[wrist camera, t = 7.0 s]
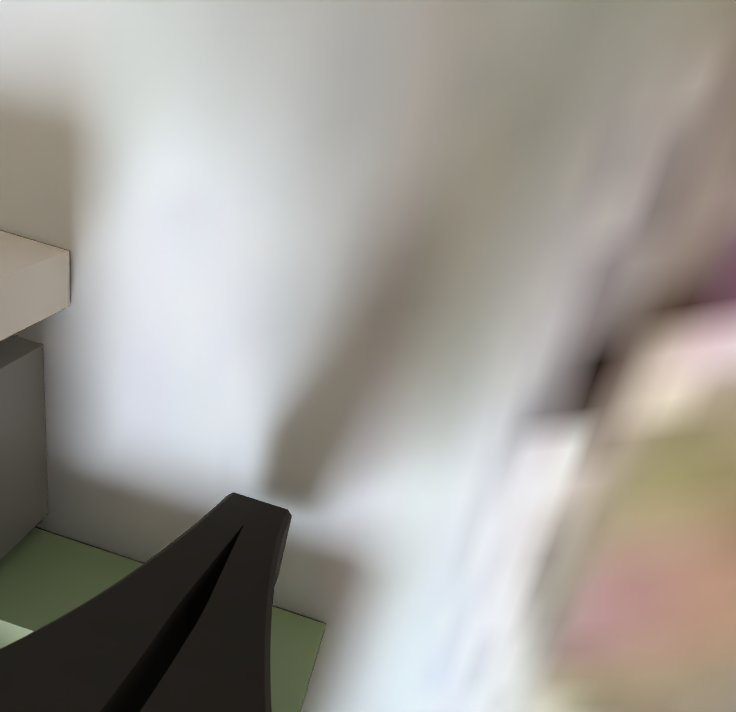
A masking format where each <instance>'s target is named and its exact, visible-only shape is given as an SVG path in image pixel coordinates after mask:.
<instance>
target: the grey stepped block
mask: <svg viewBox="0 0 736 712" xmlns="http://www.w3.org/2000/svg"><path fill="white" fill-rule="evenodd" d="M47 515H48V494H47V460H46V426H45V392H44V358H43V345H42V344H39V343H36V342H32V341H29V340H26V339H23V338H20V337H16V336H13V335H11V336H9V337H7V338H5V339H3V340H1V341H0V560H1V559H2V558H3V557H4V556H5V555H6V554H7V553H8V552H9V551H10V550H11V549H12V548H13V547H14V546H15V545H17V544H18V543H19V542H20V541H21V540H22V539H23V538H24V537H25V536H26V535H27V534H28V533H29V532H30V531H31V530H32V529H33V528H34V527H35V526H36V525H37V524H38V523H39V522H40V521H41V520H42V519H43V518H45V517H46V516H47Z"/></svg>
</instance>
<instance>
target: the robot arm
mask: <svg viewBox="0 0 736 712" xmlns="http://www.w3.org/2000/svg"><path fill="white" fill-rule="evenodd" d="M291 517H292V515H291V514H290V512H289V511H288V510H287V509H284V508H281V507H278V506H274V505H271V504H268V503H265V502H262V501H259V500H256V499H253V498H249V497H246V496H243V495H240V494H237V493H231V494H229V495H228V496H226V497H225V498H224V499H223V500H222V501H221V502H220V503H219V504H218V505H217V506H216V507H214V508H213V509H212V510H211V511H210V512H209V513H208V514H207V515H205V516H204V517H203V518H202V519H201V520H200V521H198V522H197V523H196V524H195V525H194V526H192V527H191V528H190V529H189V530H187V531H186V532H185V533H184V534H183V535H181V536H180V537H179V538H177V539H176V540H175V541H173V542H172V543H171V544H170V545H168V546H167V547H166V548H164V549H163V550H162V551H161V552H159V553H158V554H157V555H155V556H154V557H153V558H151V559H150V560H148V561H147V562H146V563H144V564H143V565H141V566H140V567H138V568H137V569H136V570H134V571H133V572H131V573H130V574H128V575H127V576H125V577H124V578H123V579H121V580H120V581H118V582H117V583H115V584H114V585H112V586H111V587H109V588H108V589H106V590H105V591H103V592H101V593H100V594H98V595H97V596H95V597H93V598H92V599H90V600H89V601H87V602H85V603H84V604H82V605H80V606H79V607H77V608H75V609H73V610H72V611H70V612H68V613H67V614H65V615H63V616H61V617H60V618H58V619H56V620H54V621H52V622H50V623H49V624H47V625H45V626H43V627H41V628H39V629H38V630H36V631H34V632H32V633H30V634H28V635H27V636H25V637H23V638H21V639H19V640H17V641H15V642H13V643H11V644H9V645H7V646H5V647H3V648H1V649H0V712H272V706H271V674H270V647H271V619H272V604H273V594H274V586H275V583H276V580H277V577H278V574H279V570H280V565H281V561H282V557H283V552H284V548H285V543H286V539H287V535H288V530H289V526H290V522H291Z"/></svg>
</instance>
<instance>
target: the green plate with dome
mask: <svg viewBox="0 0 736 712" xmlns="http://www.w3.org/2000/svg"><path fill="white" fill-rule="evenodd" d="M68 306H70V263H69V251H67V250H64V249H61V248H57V247H54V246H50V245H47V244H44V243H40V242H37V241H34V240H30V239H27V238H24V237H20V236H17V235H13V234H10V233H7V232H3V231H0V341H1V340H3V339H5V338H7V337H9V336H11V335H13V334H15V333H17V332H19V331H21V330H23V329H25V328H27V327H29V326H31V325H33V324H35V323H37V322H39V321H41V320H43V319H45V318H47V317H49V316H51V315H53V314H55V313H57V312H59V311H61V310H63V309H65V308H66V307H68ZM141 565H143V563H140V562H137V561H134V560H131V559H128V558H125V557H122V556H119V555H116V554H113V553H110V552H107V551H104V550H101V549H98V548H95V547H92V546H89V545H86V544H83V543H80V542H77V541H74V540H71V539H68V538H65V537H62V536H59V535H56V534H53V533H50V532H47V531H44V530H41V529H38V528H35V527H34V528H33V529H32V530H31V531H30V532H29V533H28V534H27V535H26V536H25V537H24V538H23V539H22V540H21V541H20V542H19V543H18V544H17V545H15V546H14V547H13V548H12V549H11V550H10V551H9V552H8V553H7V554H6V555H5V556H4V557H3V558H2V559H1V560H0V649H1V648H3V647H5V646H7V645H9V644H11V643H13V642H15V641H17V640H19V639H21V638H23V637H25V636H27V635H28V634H30V633H32V632H34V631H36V630H38V629H39V628H41V627H43V626H45V625H47V624H49V623H50V622H52V621H54V620H56V619H58V618H60V617H61V616H63V615H65V614H67V613H68V612H70V611H72V610H73V609H75V608H77V607H79V606H80V605H82V604H84V603H85V602H87V601H89V600H90V599H92V598H93V597H95V596H97V595H98V594H100V593H101V592H103V591H105V590H106V589H108V588H109V587H111V586H112V585H114V584H115V583H117V582H118V581H120V580H121V579H123V578H124V577H125V576H127V575H128V574H130V573H131V572H133V571H134V570H136V569H137V568H138V567H140V566H141ZM325 626H326V624H324V623H321V622H318V621H315V620H312V619H309V618H306V617H303V616H300V615H297V614H294V613H291V612H288V611H285V610H282V609H279V608H276V607H273V606H272V619H271V647H270V674H271V706H272V712H300V711H301V707H302V704H303V700H304V697H305V694H306V690H307V687H308V683H309V680H310V677H311V673H312V670H313V667H314V663H315V660H316V656H317V653H318V650H319V646H320V643H321V640H322V636H323V633H324V629H325Z"/></svg>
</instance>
